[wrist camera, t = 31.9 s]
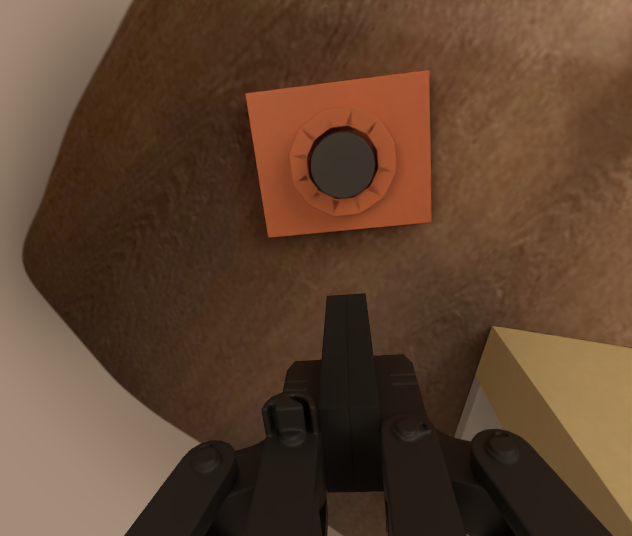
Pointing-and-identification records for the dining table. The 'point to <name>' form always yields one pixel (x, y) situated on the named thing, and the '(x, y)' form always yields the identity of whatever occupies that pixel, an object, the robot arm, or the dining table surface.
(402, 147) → the brew pad
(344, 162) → the button
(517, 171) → the dining table surface
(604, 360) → the coffee maker
